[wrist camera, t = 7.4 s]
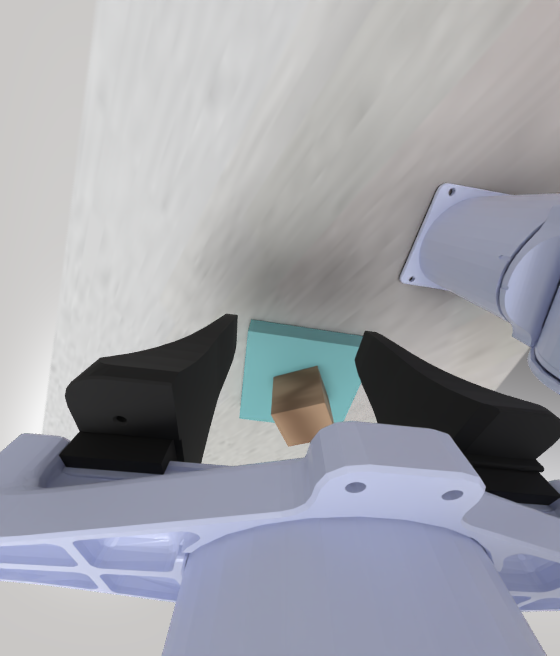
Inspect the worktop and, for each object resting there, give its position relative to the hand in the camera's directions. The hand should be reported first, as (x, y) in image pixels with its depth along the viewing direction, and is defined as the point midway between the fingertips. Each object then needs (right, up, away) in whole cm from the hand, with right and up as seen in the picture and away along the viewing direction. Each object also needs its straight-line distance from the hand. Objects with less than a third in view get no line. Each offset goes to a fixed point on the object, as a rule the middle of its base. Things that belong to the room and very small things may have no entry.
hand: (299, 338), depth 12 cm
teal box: (+1, -5, +15) cm, 16 cm away
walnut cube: (+1, -6, +13) cm, 14 cm away
